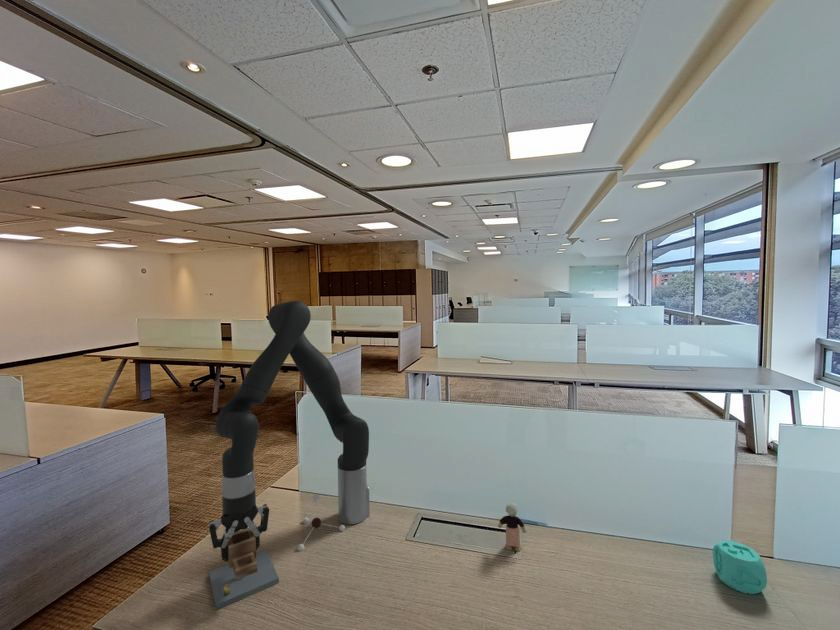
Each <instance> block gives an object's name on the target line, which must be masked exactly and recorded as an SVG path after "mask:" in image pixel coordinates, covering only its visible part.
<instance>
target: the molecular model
mask: <svg viewBox="0 0 840 630" xmlns="http://www.w3.org/2000/svg"><path fill="white" fill-rule="evenodd" d="M311 498H312V500H313V501H314V502H315V503H314V504H315V506H317V501H318V500H319V498H320V497H319V495H318V493H315V494H313V495H312V497H311ZM302 523H303V524H308V523H311V527H312V529H311V530H310V532H309V533H308V535H307V537H306V538H305V540H304V542H303V543H300V544H299V545H298V546H297V551H299V552H301V551H304V550H305V545H304V544H305V543H306V541H307V539H308V537H309V536H310V535H311V533H312V532H313V530H314V529H318V528H320V526H321V525H323V526H329V527H335V528H337V529H338V530H339V531H340V532H343V531H345V529H346V525H345V524H340V525H339V526H336V525H330V524H324V523H322V520H321V518H319V517H314V518H313V519H312V520H311V521H310V519H309V518H308V517H304V518H303V519H302Z"/></svg>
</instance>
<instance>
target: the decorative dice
mask: <svg viewBox="0 0 840 630" xmlns="http://www.w3.org/2000/svg"><path fill="white" fill-rule="evenodd" d="M712 548H713V549H712V558H713V559H712V560H713V565H714V569H715V573H716V574H717V577H718V578H719V579H720V581H721V582H722V583H723V584H725V585H726V586H728V587H729V588H730V589H732V590H735V591H737V592H739V591H740V593H743V594H747V593H749V595H755V594H758V593H761V592H762V591H764V590H765V589H766V588H767V585H768V584H767V583H768V576H767V571H766V570H767V569H766V567H765V564H764V561H763V559H762V558H761V556H760V554H759V553H758V552H756V550H754V549H753V548H751V547H749V546H747V545H745V544H743V543H740V542H737V541H733V540H722V541H719V542H717V543H716V544H715V545H714V546H713V547H712Z"/></svg>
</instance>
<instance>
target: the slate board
mask: <svg viewBox="0 0 840 630" xmlns="http://www.w3.org/2000/svg"><path fill="white" fill-rule="evenodd" d="M256 562H257V572H255V573H253V574H250V575H248V576H245V577H243V578H240V579H238V580H236V578H235V574H234V570H233V567H232V568H229V564H225V565H224V566H221V567H218V568H216V569H213V570H211V571H209V572H208V573H209V574H208V575H209V577H208V578H209V581H210V586H211V591H212V596H213V601H214V605H215V606H214V607H215V610H216V611H218V610H219V609H223V608H225V607H226V606H228V605H229V606H230V605H231V604H234V603H235V602H238V601H241V600H242V599H246V598H247V597H250V596H252V595H254V594H256V593H258V592H261V591H263V590H265V589H267V588H270V587H272V586H274V585H277V584H279V583H280V578H279V575H278V572H277V571H276V568H275V566H274V563H273V562H272V559H271V557H270V555H269V553H268V551H267V549H266V550H262V551H260V552H258V553H257V552H256ZM226 584H230V594H229V595H228V596H224V586H225V585H226Z"/></svg>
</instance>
